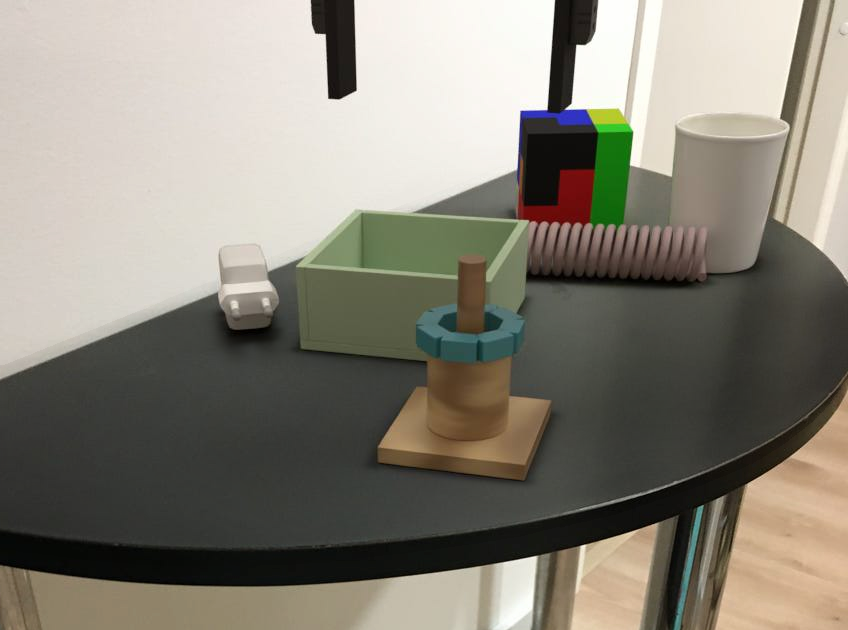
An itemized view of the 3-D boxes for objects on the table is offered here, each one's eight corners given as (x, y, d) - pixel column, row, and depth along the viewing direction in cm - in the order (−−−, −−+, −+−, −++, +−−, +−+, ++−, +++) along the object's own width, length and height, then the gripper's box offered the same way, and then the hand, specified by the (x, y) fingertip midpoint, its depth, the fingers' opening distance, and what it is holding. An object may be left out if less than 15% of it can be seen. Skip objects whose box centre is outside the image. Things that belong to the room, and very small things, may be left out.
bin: (524, 298, 99) (529, 220, 94) (487, 367, 87) (490, 281, 83) (358, 284, 102) (355, 209, 98) (300, 349, 91) (295, 266, 87)
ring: (530, 327, 75) (531, 307, 74) (510, 367, 70) (511, 346, 69) (432, 319, 76) (433, 299, 76) (406, 357, 71) (406, 336, 70)
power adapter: (286, 354, 90) (281, 282, 86) (226, 359, 89) (219, 287, 86) (272, 305, 99) (266, 238, 95) (217, 310, 98) (210, 243, 95)
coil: (712, 223, 100) (513, 216, 103) (715, 233, 96) (508, 225, 100) (704, 275, 103) (510, 267, 106) (707, 288, 99) (505, 278, 102)
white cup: (636, 259, 106) (652, 124, 99) (699, 236, 111) (719, 106, 104) (722, 284, 100) (746, 143, 93) (785, 259, 105) (812, 123, 98)
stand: (550, 415, 80) (564, 239, 72) (524, 481, 72) (536, 292, 65) (416, 400, 82) (416, 229, 75) (377, 462, 75) (373, 279, 67)
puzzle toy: (515, 210, 120) (520, 110, 114) (608, 209, 119) (618, 108, 113) (521, 240, 112) (527, 133, 106) (621, 238, 111) (633, 131, 105)
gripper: (190, -371, 54) (232, 102, 67) (710, -417, 46) (645, 129, 59) (259, -357, 60) (286, 78, 72) (735, -395, 52) (671, 100, 65)
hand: (447, 102), depth 66 cm, fingers open, 13 cm apart
